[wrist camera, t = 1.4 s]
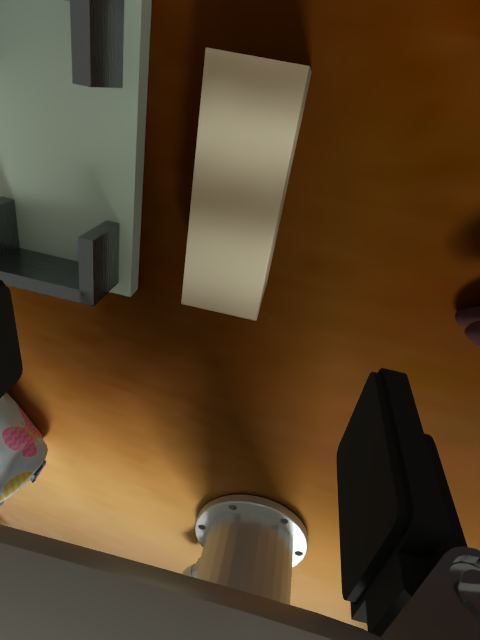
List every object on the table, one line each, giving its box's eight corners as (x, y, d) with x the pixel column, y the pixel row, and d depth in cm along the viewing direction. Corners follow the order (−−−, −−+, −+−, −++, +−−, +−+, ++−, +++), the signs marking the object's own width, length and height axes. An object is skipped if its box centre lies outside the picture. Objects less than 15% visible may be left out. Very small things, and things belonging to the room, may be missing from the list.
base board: (137, 289, 33) (130, 297, 32) (11, 259, 34) (-1, 265, 32) (153, -24, 23) (143, -31, 22) (-29, -58, 24) (-49, -67, 22)
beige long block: (266, 282, 31) (256, 320, 26) (203, 269, 31) (181, 303, 26) (311, 71, 24) (309, 66, 19) (229, 56, 24) (205, 47, 19)
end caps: (118, 282, 31) (93, 306, 28) (9, 256, 32) (-29, 276, 28) (124, -11, 22) (88, -30, 19) (-29, -40, 23) (-91, -64, 19)
